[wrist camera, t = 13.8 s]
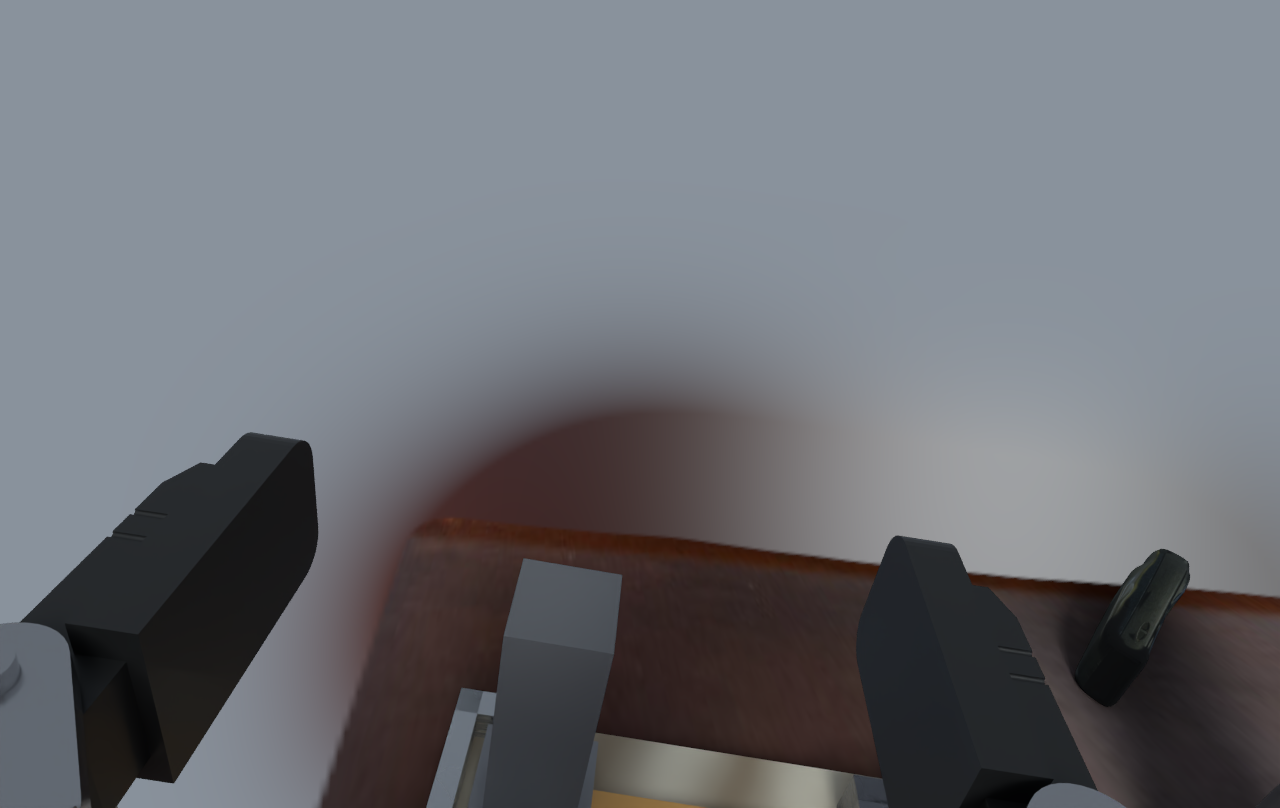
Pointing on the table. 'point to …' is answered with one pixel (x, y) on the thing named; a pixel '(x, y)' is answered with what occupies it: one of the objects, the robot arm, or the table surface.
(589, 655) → the strap handle
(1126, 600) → the dark green rounded bar
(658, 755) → the rail board
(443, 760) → the bracket
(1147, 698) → the table surface
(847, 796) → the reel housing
